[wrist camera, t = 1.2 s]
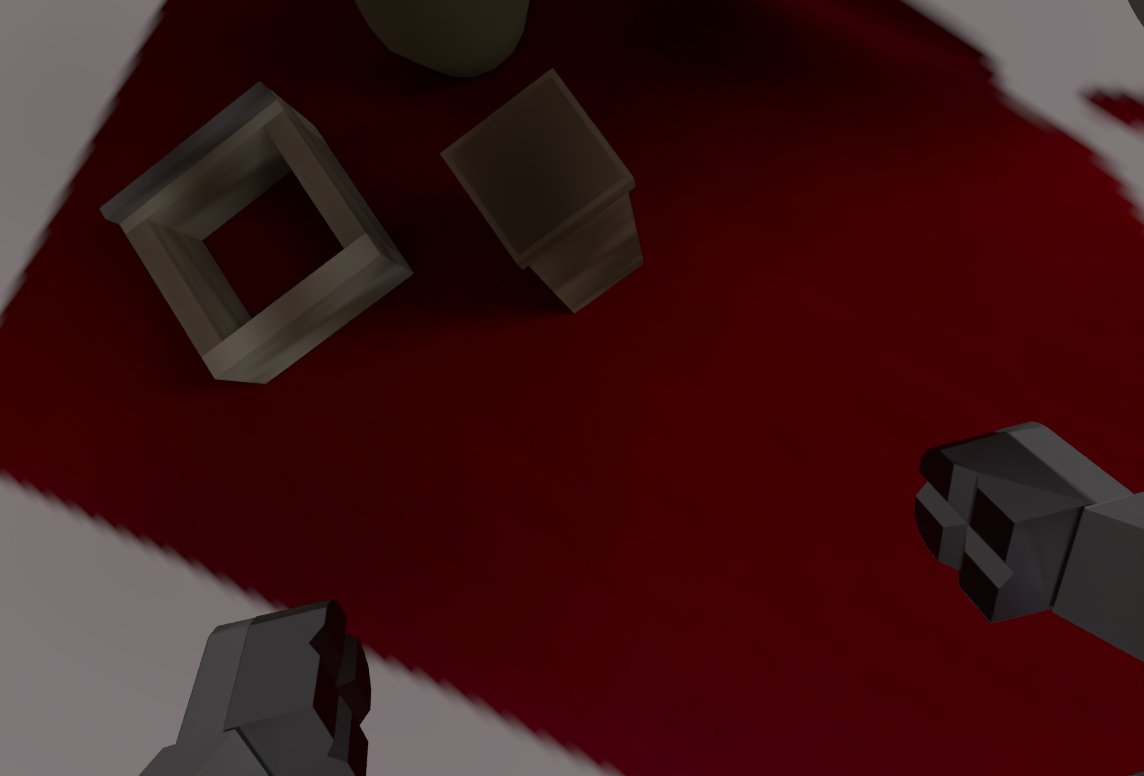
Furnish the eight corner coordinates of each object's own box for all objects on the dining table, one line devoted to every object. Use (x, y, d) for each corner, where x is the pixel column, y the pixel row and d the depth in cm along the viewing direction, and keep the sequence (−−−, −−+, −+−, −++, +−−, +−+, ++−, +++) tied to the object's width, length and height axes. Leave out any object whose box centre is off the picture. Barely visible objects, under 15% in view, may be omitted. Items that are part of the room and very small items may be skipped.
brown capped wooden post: (596, 190, 34) (552, 67, 22) (649, 264, 34) (633, 178, 22) (521, 245, 35) (439, 153, 23) (573, 319, 34) (516, 263, 22)
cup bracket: (314, 125, 37) (259, 81, 32) (413, 273, 35) (372, 250, 31) (172, 235, 37) (99, 208, 33) (265, 383, 36) (203, 377, 32)
